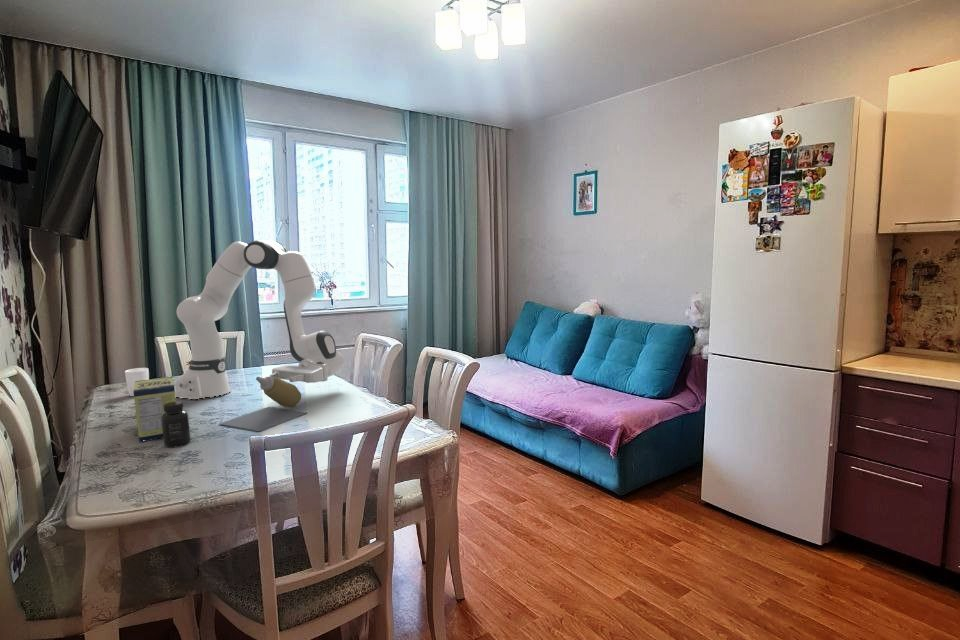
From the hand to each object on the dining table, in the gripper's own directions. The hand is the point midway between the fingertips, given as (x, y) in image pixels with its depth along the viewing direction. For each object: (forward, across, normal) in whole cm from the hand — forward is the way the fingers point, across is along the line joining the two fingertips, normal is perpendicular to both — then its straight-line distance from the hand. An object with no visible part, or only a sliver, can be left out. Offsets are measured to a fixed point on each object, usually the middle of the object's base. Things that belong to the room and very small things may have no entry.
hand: (280, 378), depth 184 cm
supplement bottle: (+38, -1, +11) cm, 40 cm away
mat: (+12, +4, +10) cm, 16 cm away
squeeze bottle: (-2, +4, +8) cm, 9 cm away
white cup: (+8, -69, +11) cm, 70 cm away
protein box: (+34, -16, +11) cm, 39 cm away
